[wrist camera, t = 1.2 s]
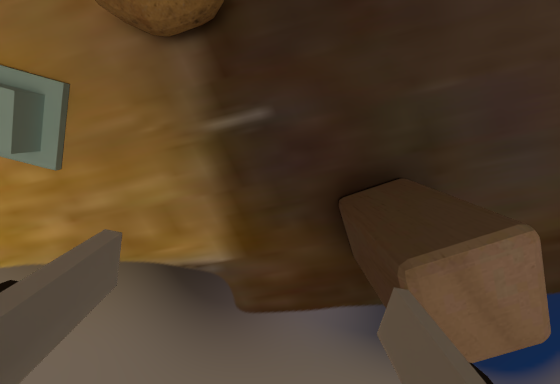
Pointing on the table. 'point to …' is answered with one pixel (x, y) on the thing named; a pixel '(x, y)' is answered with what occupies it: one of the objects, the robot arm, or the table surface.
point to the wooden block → (452, 264)
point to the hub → (32, 118)
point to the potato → (163, 14)
